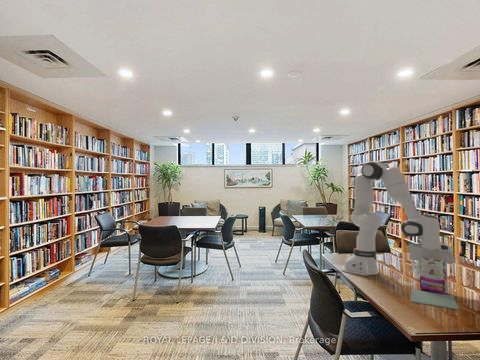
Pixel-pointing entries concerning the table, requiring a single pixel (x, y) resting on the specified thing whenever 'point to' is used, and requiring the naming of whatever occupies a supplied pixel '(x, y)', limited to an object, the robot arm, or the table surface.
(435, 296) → the desk pad
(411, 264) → the white figurine
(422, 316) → the table surface
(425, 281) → the candy bar box
